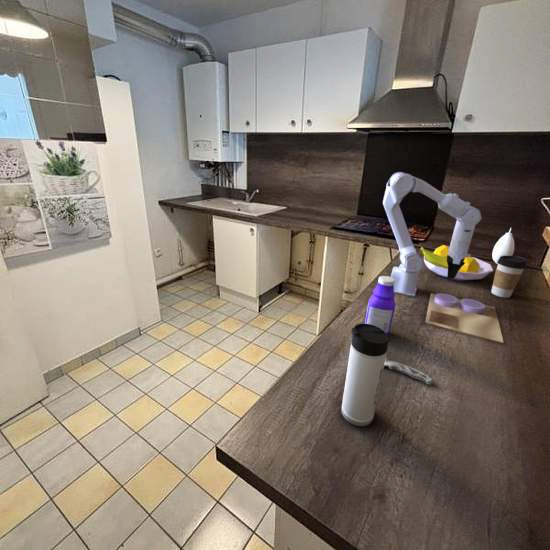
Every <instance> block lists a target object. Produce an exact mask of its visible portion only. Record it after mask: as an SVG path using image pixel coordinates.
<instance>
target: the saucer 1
mask: <svg viewBox="0 0 550 550" xmlns="http://www.w3.org/2000/svg"><path fill="white" fill-rule="evenodd" d="M435 294H436V295H435V298H434V301H435V302H436V303H437V304H439V305H441V306H445V307H456V306H457V304H458V299H459V298H458V297H456V296H454V295H451V294H449V293H435Z"/></svg>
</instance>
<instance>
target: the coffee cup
mask: <svg viewBox="0 0 550 550" xmlns="http://www.w3.org/2000/svg"><path fill="white" fill-rule="evenodd" d="M497 263H498V264H497V266H496V268H495V273H494V277H493V282H492V287H491V292H490V293H491V294H492V295H494V296H496V297H500V298H506V299H507V298H511V296H512V295H513V292H514V290H515V288H516V286H517V285H518V283H519V281H520V279H521V277H522V275H523V271H524V270H525V269H526V268H527V263H528V259H527V258H525V257H522V256H518V255H512V256H500V258H499V260H498V262H497Z"/></svg>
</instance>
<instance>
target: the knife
mask: <svg viewBox="0 0 550 550" xmlns="http://www.w3.org/2000/svg"><path fill="white" fill-rule="evenodd" d="M384 367H388V369H389V370H393V371H397V372H400V373H403V374H405V375H407V376H408V377H410V378H412V379H415V380H419V381H421V382H424V383H425V384H426V385H428V386H429V385H430V386H431V384H433V381H434V380H433V378H431V377H430V376H429V375H428V374H425V373H424V372H422V371H420V370H418V369H417V368H414V367H412V366H409V365H406V364H403V363H400V362H397V361H394V360H388V358H387V357H386V359H385V364H384Z"/></svg>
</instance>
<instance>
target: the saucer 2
mask: <svg viewBox="0 0 550 550" xmlns="http://www.w3.org/2000/svg"><path fill="white" fill-rule="evenodd" d="M460 300H461V301H460V304H459V307H460V308H461V309H463V310H465V311H467V312H471V313H476V314H480V313H483V312H484V309H485V305H486V304H484V303H483V302H481V301H479V300H476V299H472V298H461V299H460Z"/></svg>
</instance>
